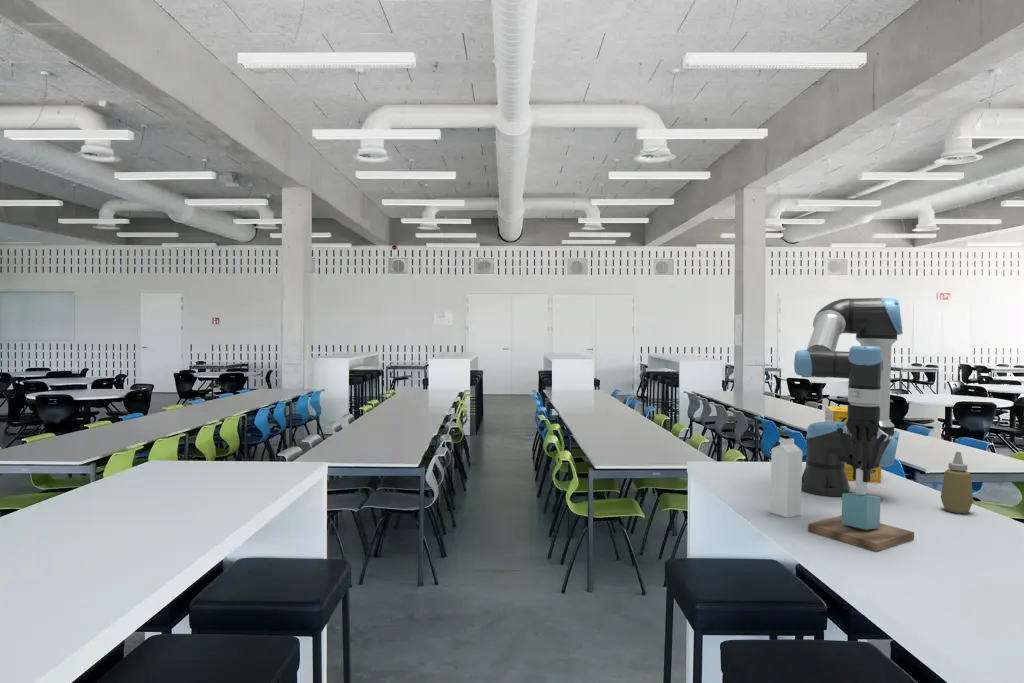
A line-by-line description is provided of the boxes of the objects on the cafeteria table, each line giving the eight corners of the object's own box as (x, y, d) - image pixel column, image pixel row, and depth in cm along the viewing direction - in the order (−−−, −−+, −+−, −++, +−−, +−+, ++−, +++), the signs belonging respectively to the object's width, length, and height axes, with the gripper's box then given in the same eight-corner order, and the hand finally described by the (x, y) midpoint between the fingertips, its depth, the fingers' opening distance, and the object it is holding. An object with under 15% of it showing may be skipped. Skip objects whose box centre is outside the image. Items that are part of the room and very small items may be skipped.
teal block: (841, 524, 168) (842, 493, 169) (855, 522, 172) (855, 492, 172) (866, 529, 163) (867, 497, 163) (879, 528, 166) (880, 497, 167)
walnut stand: (808, 531, 170) (808, 501, 170) (845, 521, 179) (846, 493, 179) (876, 551, 155) (877, 519, 154) (913, 539, 164) (914, 509, 164)
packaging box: (823, 469, 246) (825, 405, 246) (870, 473, 241) (872, 408, 241) (830, 479, 231) (832, 410, 230) (880, 483, 226) (882, 413, 225)
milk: (769, 512, 187) (771, 438, 186) (783, 510, 190) (784, 436, 189) (787, 518, 181) (788, 441, 181) (801, 515, 184) (802, 439, 184)
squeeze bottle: (978, 516, 187) (980, 455, 186) (947, 514, 188) (949, 453, 188) (964, 508, 195) (966, 450, 194) (935, 506, 196) (937, 448, 196)
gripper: (831, 402, 170) (829, 489, 171) (881, 408, 159) (878, 501, 160) (847, 400, 174) (845, 486, 175) (897, 406, 163) (894, 497, 164)
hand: (861, 493), depth 168 cm, fingers closed
